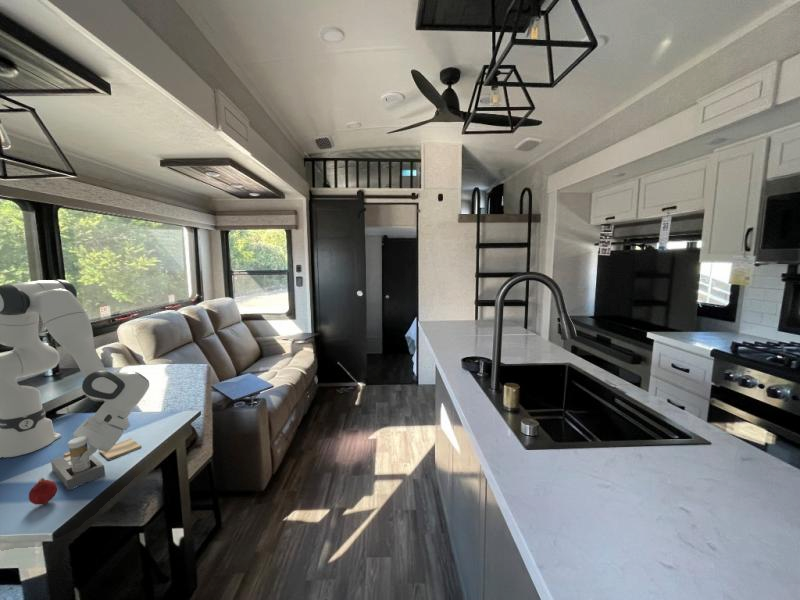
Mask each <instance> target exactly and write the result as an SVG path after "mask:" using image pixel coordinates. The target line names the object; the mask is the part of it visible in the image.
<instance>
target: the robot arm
mask: <svg viewBox="0 0 800 600" xmlns="http://www.w3.org/2000/svg"><path fill="white" fill-rule="evenodd" d="M40 318H41V320H42V322H43V324H44V325H43V326H44V327H45V328H46V330H47V332H48V333H49V335H51V337H52V338H53V339H54V340H55V342H56V343H57V344H59V345H60V347H62V348H63V349H65V350H66V351H67V352H68V353H69V354H70V355H71V356H72V358H73V359H74V361H75V363H76V365H77V366H78V368H79V370H80V373H81V374H82V376H83V379H84V380H83V381H82V384H81V387H82V388H81V389H82V392H83V393H84V395H85V397H86V398H88V399H89V400H91V401H93V402H103V404H102V405H101V406H100V407H99V408H98V410H97V411H96V412H95V413H94V414H93V415H91V416H90V417H88V418H86V419H85V420H84V421H83V422H82V423H81V424H80V425H79V426H78V427H77V428H76V430H75V431H74V432H73V434H72V437H73V438H78V437H87V443H86V444H87V447H88V450H87V451H86V452H85V453H84V454H81V455H80V457H79V458H78V459H79V460H80V461H86V460H87V459H88V457H89V456H91V455H94V453H96V452H97V451H99V450H101V451H105V452H107V451H109V450H110V449H111V448H112V447H113V446H114V445H115V444H117V443H118V441H119V440H120V439H121V437H122V436H123V434H124V431H127V430H128V429H129V427H130V426H131V423H130V421H129V418H128V417H129V416H130V414H131V412H132V410H133V409H134V407H135V406H137V405H138V404H139V403H140V402H141V400H142V399H143V398H144V396H145V395H146V394H147V392H148V390H149V388H150V381H149V380H148V378H146V376H144V375H143V374H141V373H139V372H137V371H130V372H117V371H109V370H107V368H106V367H105V366H104V363H103V362H102V360H101V358H100V356H99V355H98V352H97V350H96V347H95V342H94V341H95V340H94V333H93V327H92V324H91V321H90V318H89V316H88V313H87V312H86V310H85V309H84V307H83V305H82V304H81V302H80V301H79V300H78V292H77V289H76V287H75V286H74V285H73V283H71V282H70V281H68V280H65V279H52V280H49V279H48V280H46V279H44V280H30V281H25V282H18V283H12V284H9V283H6V284H1V285H0V345H2V346H6V347H10V348H13V349H12V350H9V351H8V350H7V351H3V352H0V458H2V457H3V458H13V457H18V456H22V455H26V454H29V453H33V452H35V451H38V450H41V449H43V448H45V447H46V446H49V445H50V444H51V443H53V442H54V441H56V440H59V439H60V438H61V437H62V435H61V433H58V432H55V429H54V424H53V421H52V419H50V418H47V417H46V410H45V407H43V402H42V397H41V391H40V390H39V389H38V388H37V387H34V386H29V385H20V384H19V383H18V381H17V380H18V379H21V378H25V377H26V378H27V377H30V376H35V375H38V374H42V373H44V372H47V371H50V370H52V369H54V368H56V367H58V366H57V365H58V364H59V363H60V353H59V351H58V350H57V349H56V348H54V347H53V346H51V345H48V344H46V343H44V342H43V341H42V340H41V339H40V335H39V334H40V333H39V322H40Z"/></svg>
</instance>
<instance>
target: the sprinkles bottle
mask: <svg viewBox="0 0 800 600" xmlns="http://www.w3.org/2000/svg"><path fill="white" fill-rule="evenodd" d="M86 443H87V437H78V438H75V437H73V438H72V439H70V440H69V441H68V442H67V447H68V449H69V452H70V457H71V465H72V471H73V475H75V474H78V473H80V472H83V471H85V470H88V469H90V458H89V457H88V459H87V460H86V461H80V460H79V459H78V458H79V457H80V455H81V454H84V453H85V452H86V451H87V450H88V447H89V446H88V444H86Z"/></svg>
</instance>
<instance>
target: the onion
mask: <svg viewBox="0 0 800 600" xmlns="http://www.w3.org/2000/svg"><path fill="white" fill-rule="evenodd" d="M57 493H58V486H57V484H56V483H55V482H54V481H52V480H47V479H45V478H44V477H41V478H39V480H38V482H37V483H35V485H33V487H32V488H31V489H30V491H29V493H28V500H29V502H30V503H32V504H34V505H36V506H37V505H39V506H40V505H41V506H45V505H46V504H48V503H49V502H51V500H53V498H54V497H55V496H56V494H57Z"/></svg>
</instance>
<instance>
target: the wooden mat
mask: <svg viewBox="0 0 800 600" xmlns="http://www.w3.org/2000/svg"><path fill="white" fill-rule="evenodd" d="M141 448H142V445H141V444H140V443H138V442H137V441H135V439H132V438H129V439H125V440H123V441H121V442H117V443H116V444H115V445H114V446H113V447H112V448H111V449H110V450H109V451H107V452H105V451H101V450H98V452H99V454H100V455H101V454H102V455H101V456H102V457H104V458H105V460H107V461H111V460H114V459H116V458H118V457H121V456H123V455H126V454H129V453H131V452H134V451H136V450H139V449H141Z"/></svg>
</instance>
